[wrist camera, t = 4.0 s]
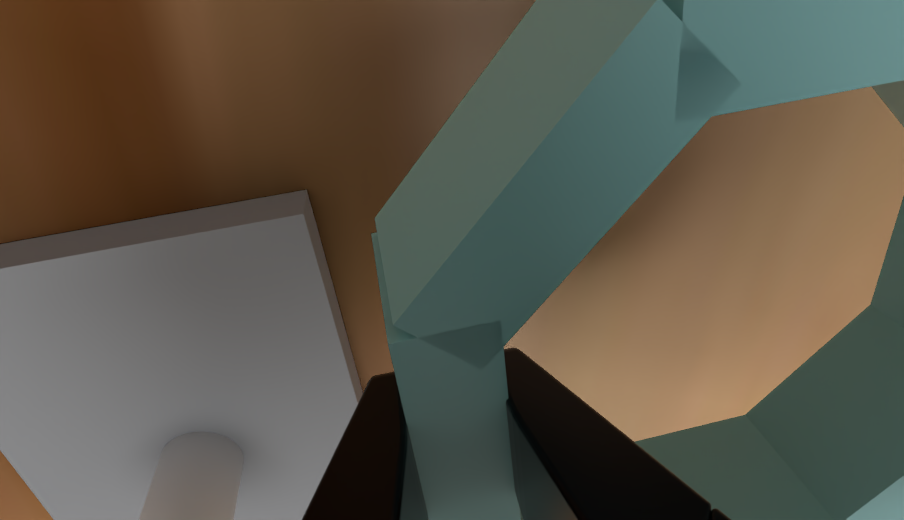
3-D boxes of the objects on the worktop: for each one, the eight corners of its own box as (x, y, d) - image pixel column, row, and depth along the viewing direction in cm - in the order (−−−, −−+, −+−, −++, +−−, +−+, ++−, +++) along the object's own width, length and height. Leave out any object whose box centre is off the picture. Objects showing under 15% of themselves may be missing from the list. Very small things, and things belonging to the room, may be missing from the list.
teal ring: (1078, -119, 8) (1371, -132, 5) (882, 419, 13) (995, 519, 11) (319, 2, 7) (318, 41, 4) (437, 530, 12) (462, 666, 10)
